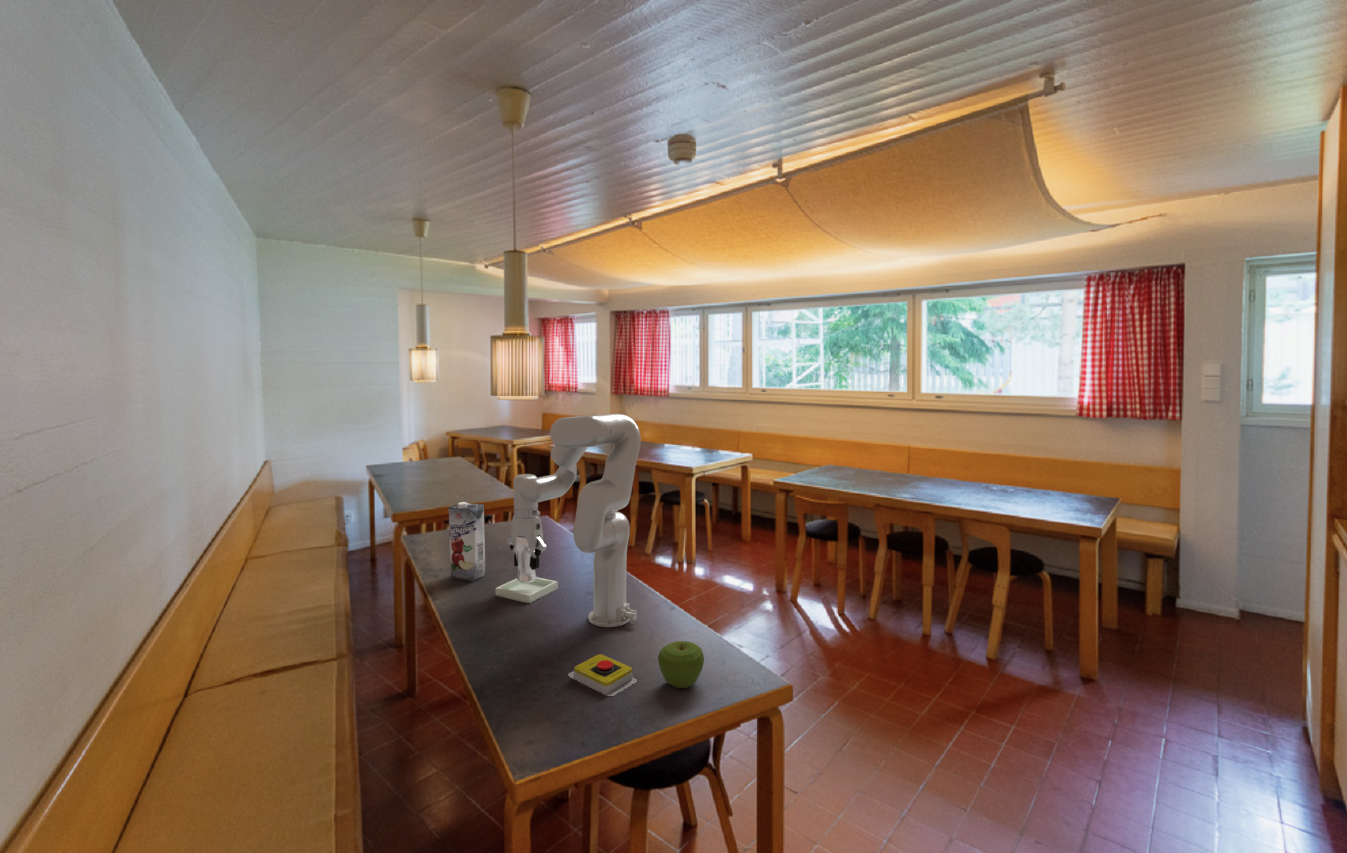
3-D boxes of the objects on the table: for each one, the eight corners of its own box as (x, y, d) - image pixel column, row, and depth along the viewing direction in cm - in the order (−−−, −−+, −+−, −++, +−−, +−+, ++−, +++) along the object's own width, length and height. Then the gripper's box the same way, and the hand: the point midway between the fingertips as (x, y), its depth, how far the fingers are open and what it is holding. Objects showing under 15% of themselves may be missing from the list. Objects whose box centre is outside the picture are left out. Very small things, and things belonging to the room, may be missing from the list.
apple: (689, 668, 143) (690, 629, 142) (712, 689, 134) (713, 647, 133) (650, 679, 138) (650, 639, 137) (670, 701, 129) (671, 658, 128)
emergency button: (610, 681, 130) (565, 660, 139) (610, 700, 130) (565, 677, 140) (638, 665, 137) (594, 645, 146) (638, 683, 138) (594, 662, 147)
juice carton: (464, 571, 210) (462, 497, 207) (488, 575, 207) (487, 500, 204) (447, 580, 202) (444, 503, 199) (472, 584, 198) (470, 505, 196)
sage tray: (557, 588, 195) (557, 581, 194) (530, 603, 182) (529, 595, 182) (524, 581, 201) (524, 574, 200) (495, 595, 188) (495, 588, 188)
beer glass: (511, 580, 191) (510, 535, 189) (528, 574, 196) (528, 530, 194) (524, 585, 186) (524, 539, 185) (542, 579, 192) (541, 534, 190)
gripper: (554, 513, 188) (555, 567, 190) (513, 507, 196) (513, 559, 198) (539, 518, 182) (540, 575, 184) (497, 512, 189) (498, 566, 191)
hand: (526, 566), depth 191 cm, fingers closed on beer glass, 6 cm apart
